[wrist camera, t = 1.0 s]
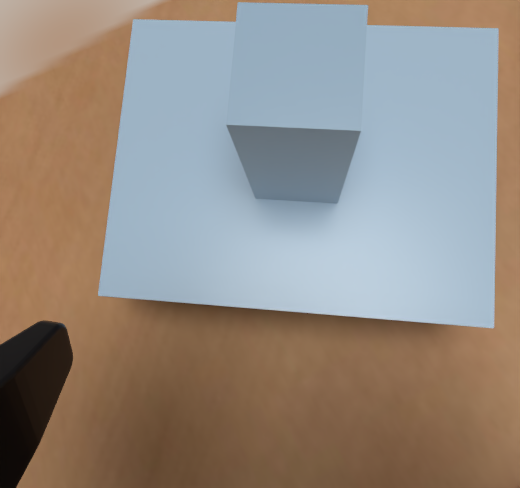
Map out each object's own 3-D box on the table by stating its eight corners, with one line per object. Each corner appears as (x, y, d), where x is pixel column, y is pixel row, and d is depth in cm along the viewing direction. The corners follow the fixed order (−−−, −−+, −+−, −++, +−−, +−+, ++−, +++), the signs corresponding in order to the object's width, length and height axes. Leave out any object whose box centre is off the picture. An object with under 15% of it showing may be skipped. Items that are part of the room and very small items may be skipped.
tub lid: (483, 327, 17) (633, 337, 10) (108, 296, 19) (-32, 283, 11) (488, 43, 19) (621, -151, 11) (141, 33, 20) (39, -146, 12)
